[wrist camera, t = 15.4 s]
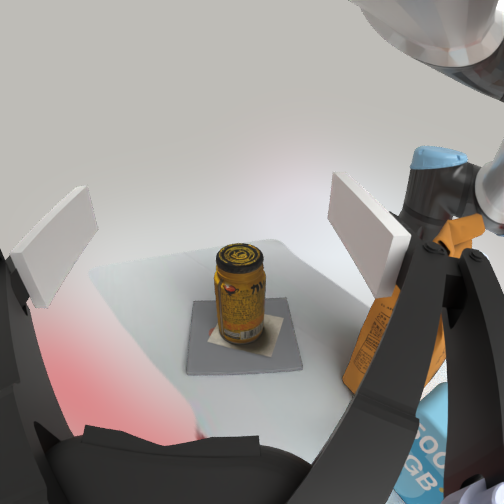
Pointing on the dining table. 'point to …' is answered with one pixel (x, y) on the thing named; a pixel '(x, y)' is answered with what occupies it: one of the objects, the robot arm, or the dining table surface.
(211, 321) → the marker mat
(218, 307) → the condiment
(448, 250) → the coffee package
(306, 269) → the dining table surface
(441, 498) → the blue product box
